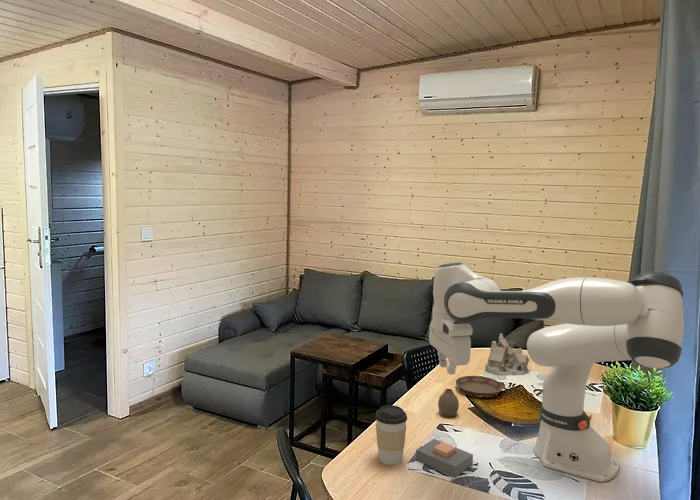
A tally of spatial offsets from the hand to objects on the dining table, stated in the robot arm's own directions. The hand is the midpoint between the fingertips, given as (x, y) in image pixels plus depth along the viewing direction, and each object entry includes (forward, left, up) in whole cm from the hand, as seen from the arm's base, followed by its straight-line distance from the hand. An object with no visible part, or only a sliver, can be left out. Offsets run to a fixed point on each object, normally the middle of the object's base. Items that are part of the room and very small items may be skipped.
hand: (447, 370), depth 142 cm
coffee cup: (+12, +9, -27) cm, 31 cm away
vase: (+16, -27, -27) cm, 42 cm away
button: (0, 0, -26) cm, 26 cm away
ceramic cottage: (+22, -80, -28) cm, 88 cm away
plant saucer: (+19, -53, -28) cm, 63 cm away
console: (0, 0, -27) cm, 27 cm away
